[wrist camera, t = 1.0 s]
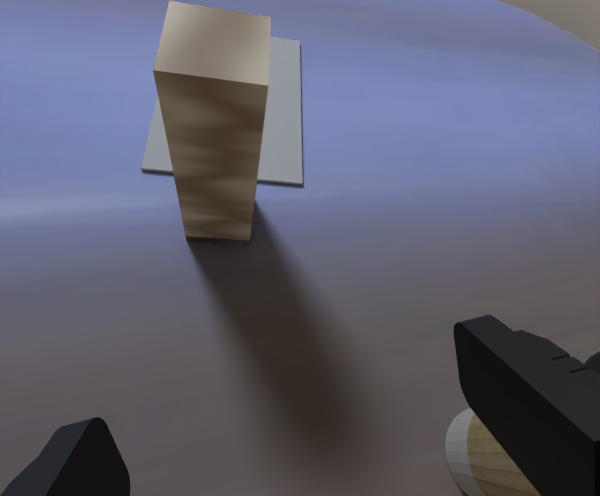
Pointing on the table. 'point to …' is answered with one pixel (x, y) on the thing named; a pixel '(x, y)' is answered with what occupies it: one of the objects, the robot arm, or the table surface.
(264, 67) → the birch block
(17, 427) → the table surface
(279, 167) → the grey mat
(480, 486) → the coffee cup
